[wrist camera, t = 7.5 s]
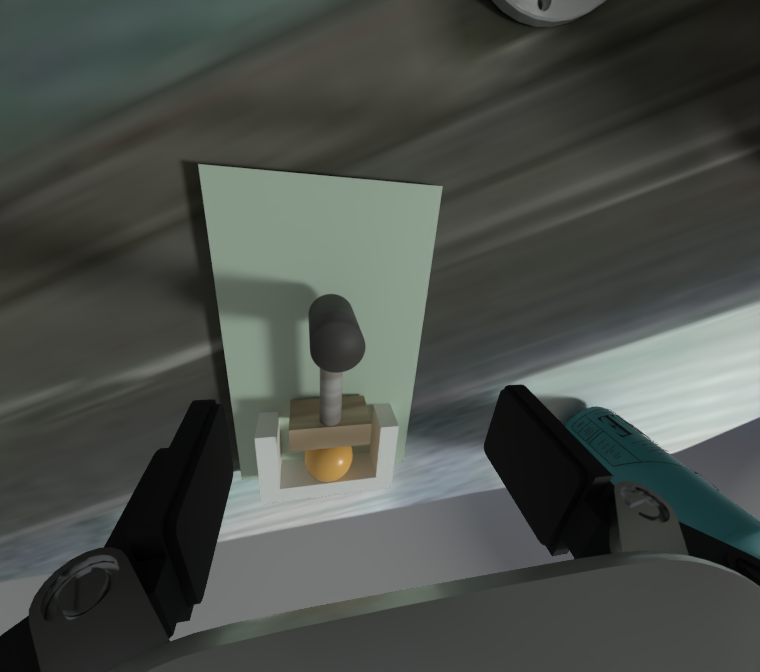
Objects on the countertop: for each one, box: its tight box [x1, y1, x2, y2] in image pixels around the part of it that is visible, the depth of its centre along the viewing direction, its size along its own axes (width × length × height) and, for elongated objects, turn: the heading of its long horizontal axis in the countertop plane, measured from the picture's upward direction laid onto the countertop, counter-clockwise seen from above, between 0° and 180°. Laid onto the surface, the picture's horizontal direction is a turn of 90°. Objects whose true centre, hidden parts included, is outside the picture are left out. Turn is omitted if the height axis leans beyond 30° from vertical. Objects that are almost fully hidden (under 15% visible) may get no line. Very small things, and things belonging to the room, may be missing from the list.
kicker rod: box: [289, 294, 372, 452], centre depth 22 cm, size 12×6×7 cm, turn 176°
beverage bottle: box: [565, 407, 760, 560], centre depth 28 cm, size 6×7×20 cm
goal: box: [254, 404, 399, 504], centre depth 28 cm, size 7×11×3 cm, turn 86°
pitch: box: [198, 164, 443, 480], centre depth 26 cm, size 25×15×1 cm, turn 176°
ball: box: [304, 446, 353, 482], centre depth 27 cm, size 4×4×4 cm
